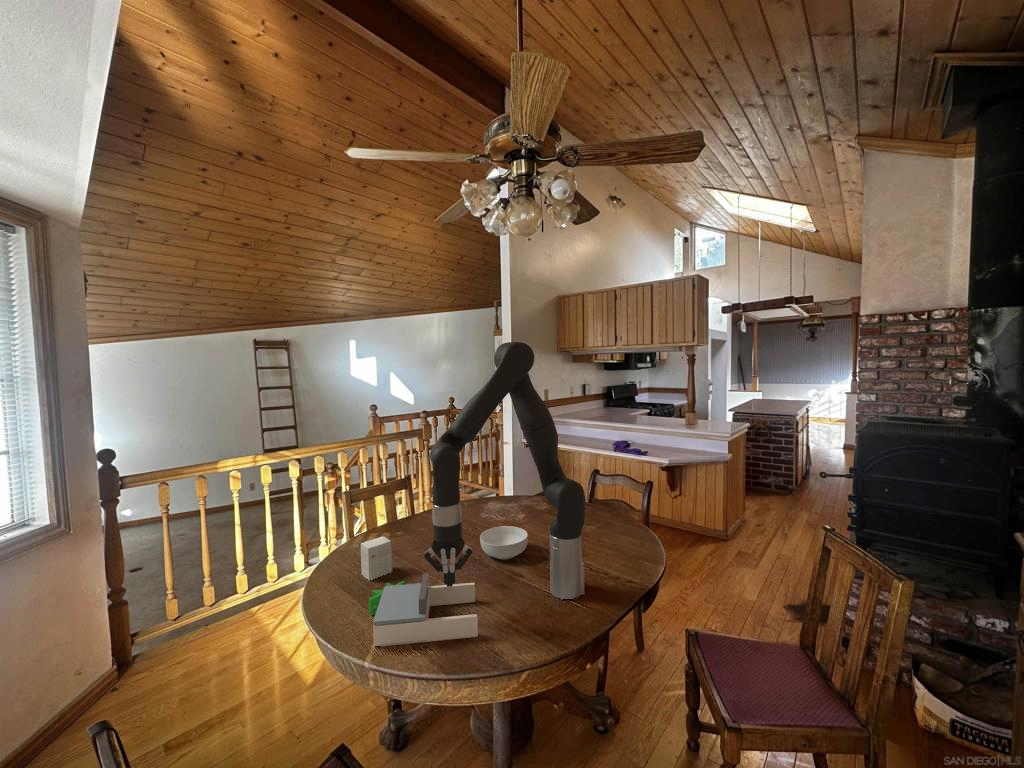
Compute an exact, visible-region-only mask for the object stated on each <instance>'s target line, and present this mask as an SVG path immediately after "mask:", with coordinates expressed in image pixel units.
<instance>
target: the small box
mask: <svg viewBox="0 0 1024 768" xmlns="http://www.w3.org/2000/svg"><path fill="white" fill-rule="evenodd" d="M392 551H393V549H392V540H390V539H388V538H387V537H385V536H384V535H383V536H380V537H377V538H373V539H370V540H367V541H364V542H361V543H360V561H361V563H360V564H361V568H360V569H361V576H362V575H363V576H362V577H364V579H366V580H367V579H368V580H367V581H369V582H371V581H373V579H374V580H375V578H376V579H379V578H381V577H383V575H384V576H386V575H388V573H389V574H391V573H393V555H392ZM380 576H381V577H380ZM378 577H379V578H378ZM370 580H371V581H370Z"/></svg>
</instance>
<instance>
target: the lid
mask: <svg viewBox="0 0 1024 768" xmlns="http://www.w3.org/2000/svg"><path fill="white" fill-rule="evenodd" d="M429 577H430V575H429V572H423V573H422V578H421V583H418V582H417V583H407V584H406V583H405V585H396V584H394V586H386V585H385V586H384V587H383V589H384V590H383V589H382V590H383V593H382V596H381V599H380V602H379V605H378V608H377V611H376V614H374V618H373V620H372V626H373V625H381V624H391V623H402V622H412V621H423V620H425V615H426V608H427V600H428V592H429V586H430V578H429Z"/></svg>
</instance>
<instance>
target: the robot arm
mask: <svg viewBox="0 0 1024 768" xmlns="http://www.w3.org/2000/svg"><path fill="white" fill-rule="evenodd" d="M493 360H494V365H495V371H494V373H492V375H491V377H490V378H489V379H488V381H487V382H486V383H485V384H484V385H483V387H481V388H480V389H479V391H477V392H476V394H474V395H473V396H472V397H471V398H470V399H469V400H468V402H467V403H466V404H465V405H464V406H463V408H462V409H461V410H460V412H459V413H458V415H457V416H456V418H455V419H454V420H453V422H452V424H451V425H450V426H449V427H448V429H446V430H445V431H444V433H443V434H441V436H440V437H439V438H438V439H437V440H436V441H435V443H434V444H433V446H432V447H431V450H430V453H429V459H430V461H431V464H432V473H433V474H432V478H433V484H432V487H431V488H432V489H431V492H432V508H431V509H432V511H431V523H432V543H431V546H430V547H429V548H428V549H425V551H424V554H423V558H424V559H425V560H426V561H427V563H429V564H430V566H432V568H434V569H435V570H436V571H435V572H437V573H438V572H442V573H443V585H447V587H449V586H453V584H456V571H458V570H462V569H463V567H464V565H465V564H466V562H467V561H468V559H469V558H470V556H471V555H472V554H473V547H472V546H471V545H468V544H466V543H465V540H464V537H463V516H462V506H461V493H460V492H461V491H460V476H461V455H460V453H461V451H462V450H463V449H464V448H465V446H466V445H467V444H469V443H471V442H472V441H473V440H474V439H475V438H476V437H477V435H478V434H479V433H480V431H481V430H482V428H483V427H484V426H485V424H486V422H488V420H489V418H490V417H491V416H492V414H493V412H494V411H495V410H496V409H497V407H498V406H499V405H500V403H501V402H502V401H503V400H504V399H505V397H507V395H509V396H510V399H511V400H510V401H511V403H512V405H513V409H514V412H515V414H516V418H517V421H518V423H519V427H520V429H521V432H522V434H523V437H524V439H525V441H526V444H527V447H528V449H529V451H530V455H531V457H532V459H533V461H534V465H535V466H536V470H537V472H538V476H539V480H540V483H541V488H542V491H543V494H544V498H545V499H546V501H547V502H548V504H550V505H551V506H552V507H553V508H555V509H556V519H554V520H552V521H550V523H549V589H550V590H549V591H550V594H551V595H552V597H554V598H556V597H557V599H559V598H560V599H559V600H563V599H573V600H575V599H574V598H576V597H578V596H580V595H582V594H584V595H585V562H584V560H583V557H582V556H583V553H582V552H583V551H582V550H583V548H582V547H583V544H582V543H583V541H582V534H583V533H582V531H583V527H584V525H585V515H586V493H585V490H584V487H583V485H582V484H581V483H580V482H578V481H576V480H573V479H571V478H568V477H567V476H566V474H565V472H564V470H563V467H562V466H561V462H560V460H559V456H558V455H559V454H558V449H559V435H558V430H557V428H556V425H555V422H554V419H553V417H552V414H551V412H550V410H549V407H548V406H547V405H546V404H545V402H544V401H543V399H542V398H541V396H540V395H539V393H538V391H537V390H536V388H535V387H534V385H533V383H532V380H531V376H530V373H529V372H530V371H531V370H532V368H533V366H534V363H535V353H534V351H533V348H532V347H531V346H530V345H529V344H527V343H525V342H522V341H509V342H504V343H502V344H500V345H498V347H497V348H496V350H495V352H494V357H493ZM461 552H462V554H461V556H460V557H459V555H460V553H461ZM435 555H436V556H437V557H438V558H439V559H440V560H441V562H440V561H439V560H438V558H437V557H435ZM457 557H459V559H458V560H457V561H456V559H457ZM448 560H450V561H448ZM449 562H450V563H449ZM580 597H581V596H580ZM578 598H579V597H578ZM576 599H577V598H576Z"/></svg>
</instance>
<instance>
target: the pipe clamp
mask: <svg viewBox="0 0 1024 768" xmlns="http://www.w3.org/2000/svg"><path fill="white" fill-rule="evenodd" d="M394 585H406V582H405V581H403V580H402V581H400V582H399V583H396V584H394ZM394 585H393V584H391V583H390V582H387V583H385V586H394ZM383 590H384V588H383V589H379V590H377V589H373V590H372V591H371V592H372V593H371V594H372V596H370V597H369V598H368V599H367V601H368V615H369V614H370V615H371V616H370V615H369V616H370V617H373V616H375V614H376V611H377V608H378V605H379V602H380V599H381V596H382V593H383ZM372 615H373V616H372Z"/></svg>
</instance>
